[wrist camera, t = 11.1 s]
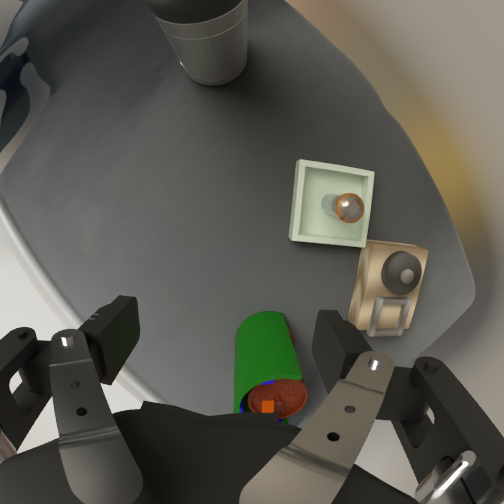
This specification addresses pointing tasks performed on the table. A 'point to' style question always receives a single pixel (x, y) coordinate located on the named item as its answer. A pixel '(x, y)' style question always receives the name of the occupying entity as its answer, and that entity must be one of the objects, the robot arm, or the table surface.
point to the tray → (310, 196)
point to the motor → (267, 368)
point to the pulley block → (386, 287)
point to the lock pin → (344, 206)
